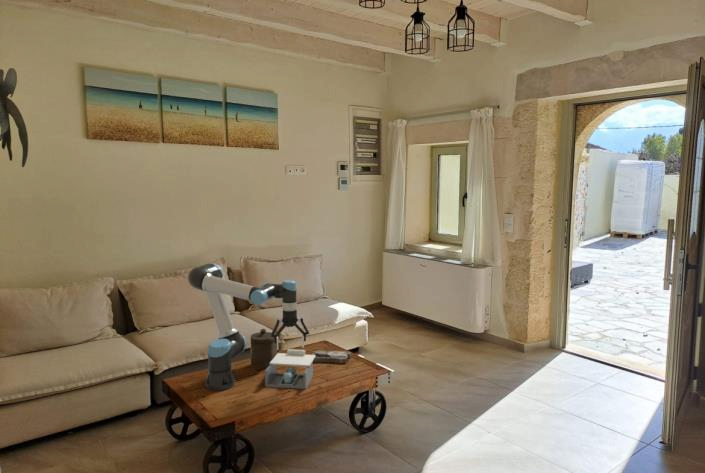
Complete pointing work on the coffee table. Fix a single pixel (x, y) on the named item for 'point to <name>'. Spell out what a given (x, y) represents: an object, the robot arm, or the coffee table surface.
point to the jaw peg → (287, 378)
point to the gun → (331, 356)
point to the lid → (293, 358)
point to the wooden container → (262, 349)
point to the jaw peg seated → (292, 370)
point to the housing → (299, 382)
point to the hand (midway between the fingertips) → (290, 348)
